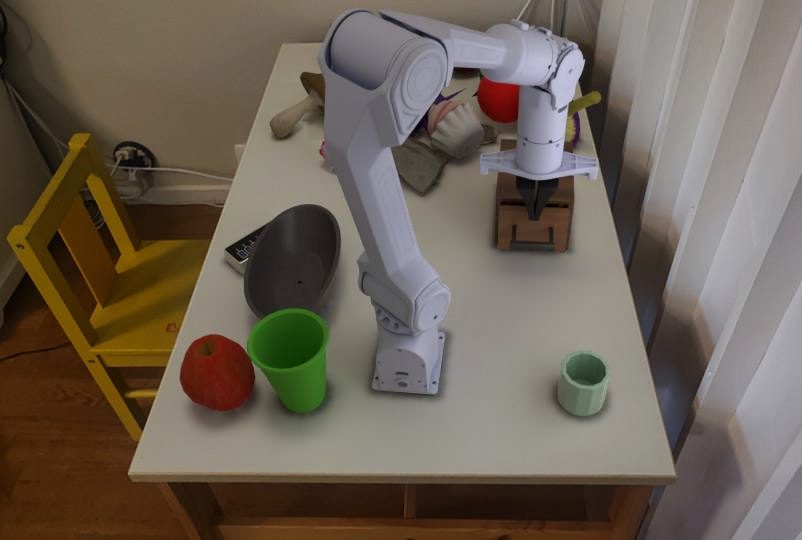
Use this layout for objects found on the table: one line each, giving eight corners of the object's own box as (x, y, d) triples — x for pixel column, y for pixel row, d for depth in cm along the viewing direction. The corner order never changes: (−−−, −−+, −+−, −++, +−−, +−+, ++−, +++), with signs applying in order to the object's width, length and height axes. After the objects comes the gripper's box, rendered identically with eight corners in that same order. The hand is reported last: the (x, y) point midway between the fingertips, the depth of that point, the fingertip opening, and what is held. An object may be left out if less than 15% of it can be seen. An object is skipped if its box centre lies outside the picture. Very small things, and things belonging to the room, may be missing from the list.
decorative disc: (492, 123, 125) (492, 119, 125) (502, 144, 121) (502, 139, 120) (455, 129, 125) (455, 124, 124) (464, 150, 120) (464, 145, 120)
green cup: (604, 418, 83) (611, 390, 79) (557, 414, 83) (561, 387, 80) (602, 380, 87) (608, 352, 83) (557, 376, 87) (561, 348, 83)
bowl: (356, 236, 106) (351, 204, 101) (331, 355, 91) (324, 323, 86) (275, 235, 107) (267, 203, 102) (238, 352, 91) (226, 320, 87)
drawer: (564, 276, 98) (570, 236, 92) (495, 271, 99) (497, 232, 94) (563, 196, 109) (568, 157, 104) (502, 193, 111) (503, 154, 105)
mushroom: (271, 137, 131) (336, 90, 134) (297, 163, 124) (365, 113, 126) (245, 98, 125) (314, 49, 127) (271, 123, 117) (344, 71, 119)
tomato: (542, 56, 118) (496, 42, 123) (504, 94, 114) (457, 77, 120) (550, 105, 126) (505, 90, 131) (514, 142, 122) (470, 125, 128)
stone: (422, 197, 112) (456, 167, 118) (426, 182, 109) (460, 151, 115) (329, 138, 116) (366, 111, 122) (331, 122, 114) (368, 96, 120)
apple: (185, 426, 84) (157, 371, 77) (203, 369, 90) (178, 313, 82) (254, 426, 84) (233, 371, 76) (267, 369, 90) (248, 313, 82)
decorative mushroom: (624, 80, 117) (553, 112, 128) (575, 42, 110) (505, 80, 121) (623, 146, 113) (549, 174, 124) (572, 112, 105) (499, 145, 117)
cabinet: (568, 249, 103) (574, 200, 96) (493, 245, 104) (495, 197, 97) (567, 189, 112) (573, 141, 105) (499, 186, 113) (500, 138, 107)
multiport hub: (226, 260, 104) (222, 249, 102) (287, 223, 109) (284, 212, 107) (243, 275, 101) (239, 264, 100) (304, 237, 107) (302, 225, 105)
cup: (329, 433, 83) (314, 377, 75) (255, 421, 84) (233, 365, 76) (350, 371, 89) (339, 313, 81) (281, 361, 90) (263, 303, 83)
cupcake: (490, 112, 112) (448, 72, 115) (446, 151, 111) (405, 110, 114) (494, 138, 121) (455, 100, 124) (453, 174, 120) (415, 135, 123)
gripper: (601, 113, 88) (588, 199, 97) (483, 109, 89) (481, 194, 99) (604, 148, 83) (590, 234, 92) (478, 143, 84) (477, 228, 94)
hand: (534, 216), depth 95 cm, fingers closed
